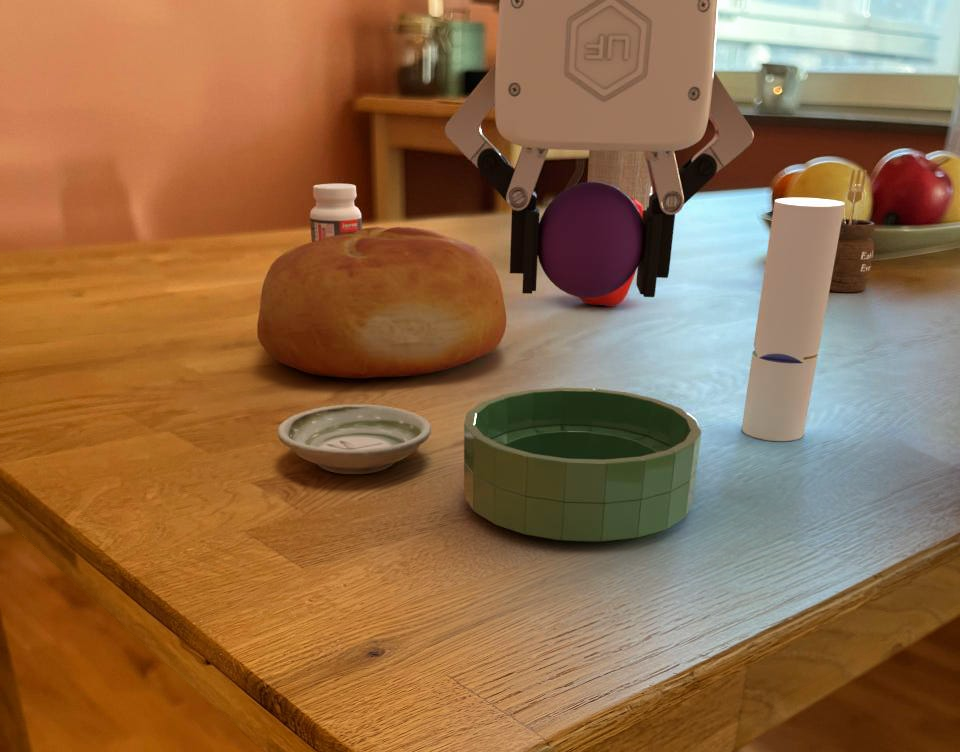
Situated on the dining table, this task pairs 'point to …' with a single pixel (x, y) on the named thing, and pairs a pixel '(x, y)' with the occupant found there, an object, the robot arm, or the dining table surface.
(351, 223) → the pill bottle
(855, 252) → the utensil holder
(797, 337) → the tube
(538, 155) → the robot arm
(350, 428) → the saucer
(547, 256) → the ball
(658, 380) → the dining table surface
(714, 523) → the dining table surface
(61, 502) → the dining table surface
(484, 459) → the bowl
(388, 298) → the bread
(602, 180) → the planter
